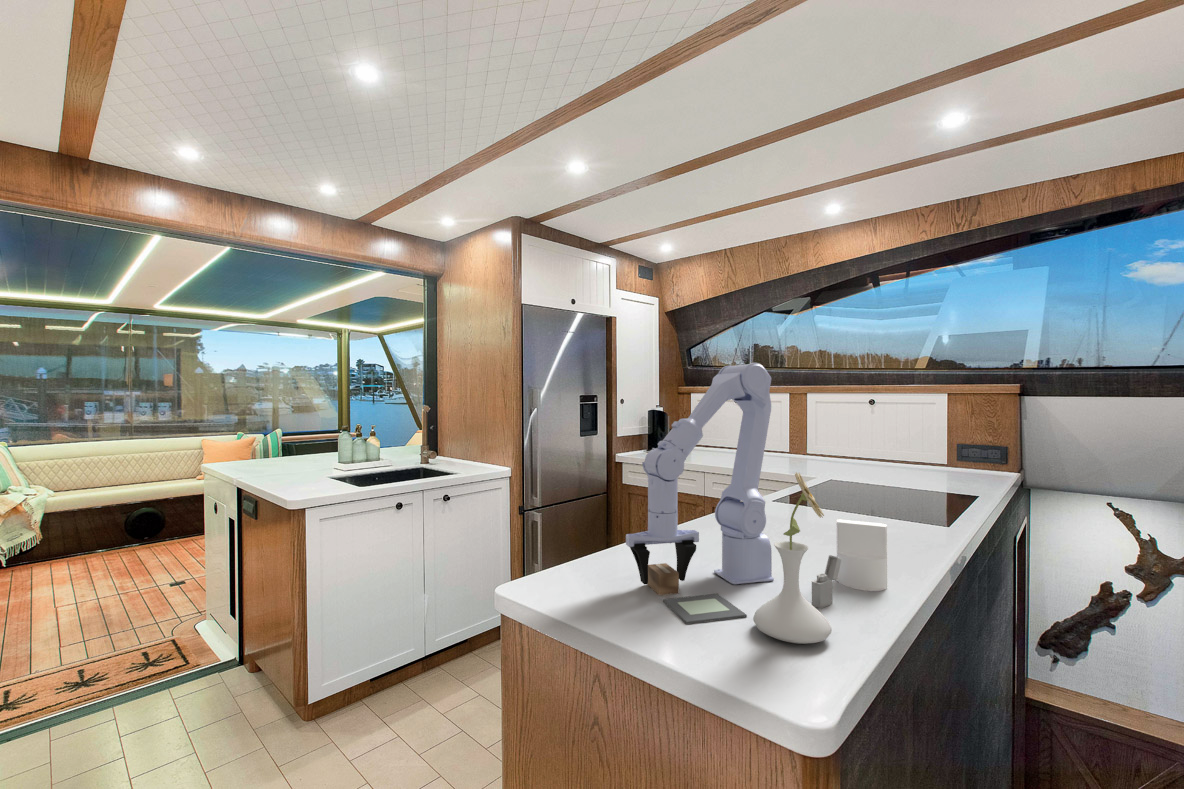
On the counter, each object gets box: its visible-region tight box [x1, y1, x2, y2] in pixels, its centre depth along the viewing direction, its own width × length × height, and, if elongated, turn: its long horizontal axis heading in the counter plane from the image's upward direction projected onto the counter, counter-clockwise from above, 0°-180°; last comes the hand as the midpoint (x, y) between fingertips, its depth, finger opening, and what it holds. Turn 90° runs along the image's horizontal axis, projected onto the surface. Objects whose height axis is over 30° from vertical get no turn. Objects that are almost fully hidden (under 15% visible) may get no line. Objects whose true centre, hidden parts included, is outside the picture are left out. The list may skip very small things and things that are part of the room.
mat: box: [662, 593, 748, 625], centre depth 90 cm, size 11×10×1 cm
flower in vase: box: [752, 471, 832, 645], centre depth 81 cm, size 13×11×25 cm
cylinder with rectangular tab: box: [836, 518, 888, 592], centre depth 104 cm, size 9×9×12 cm
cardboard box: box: [647, 562, 680, 596], centre depth 100 cm, size 4×6×4 cm, turn 15°
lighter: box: [811, 554, 841, 610], centre depth 93 cm, size 7×2×8 cm, turn 126°
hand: (662, 580), depth 100 cm, fingers open, 7 cm apart
